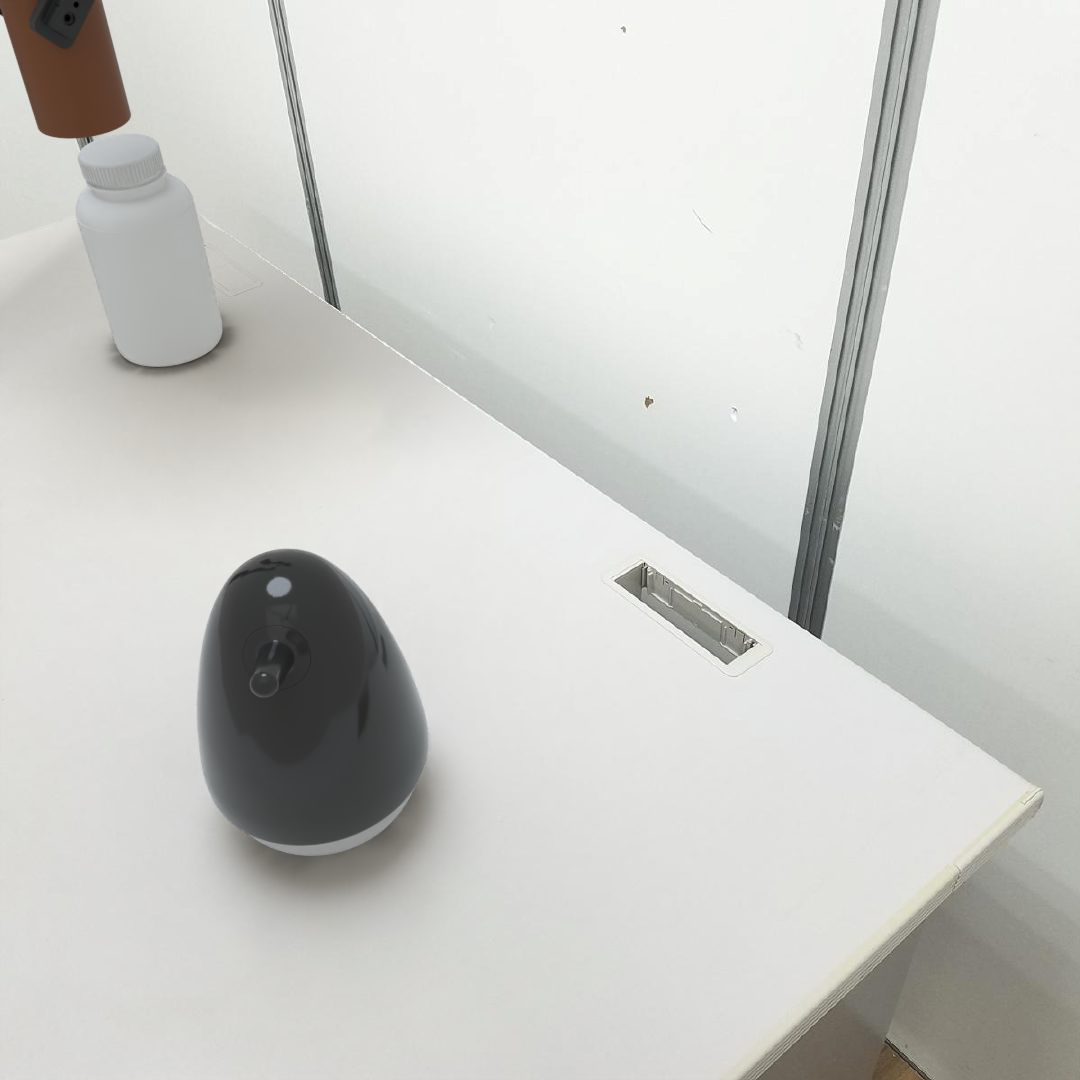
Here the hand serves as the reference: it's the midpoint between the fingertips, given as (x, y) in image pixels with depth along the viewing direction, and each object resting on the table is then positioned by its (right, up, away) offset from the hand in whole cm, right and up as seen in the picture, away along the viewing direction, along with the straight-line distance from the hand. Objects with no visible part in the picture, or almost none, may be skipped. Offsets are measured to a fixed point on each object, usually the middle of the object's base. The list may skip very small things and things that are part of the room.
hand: (23, 25), depth 61 cm
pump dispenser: (+18, -40, -6) cm, 44 cm away
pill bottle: (0, -13, +25) cm, 28 cm away
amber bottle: (+1, -3, +5) cm, 6 cm away
